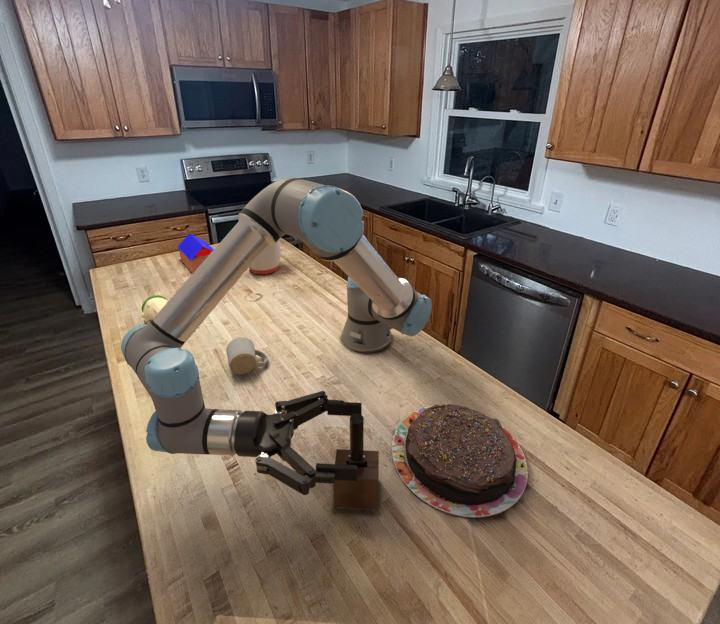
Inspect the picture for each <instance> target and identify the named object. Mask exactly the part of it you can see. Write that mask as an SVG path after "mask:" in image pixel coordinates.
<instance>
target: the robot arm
mask: <svg viewBox="0 0 720 624" xmlns="http://www.w3.org/2000/svg"><path fill="white" fill-rule="evenodd" d="M237 217H238V218H237V219H238V222H237V223H235V225H234V226H233V227H232V228H231V229H230V230H229V232H228V233H227V234H226V235H225V237H223V239H222V240H221V241H220V242H219V243H218V244H217V246H215V248H213V249H214V250H213V251H212V252H211V254H210V255H209V256H208V257H207V258H206V259H205V260H204V261H203V263H202V264H201V265H200V266H199V267H198V268H197V269H196V271H195V272H194V273H191V275H190V276H189V277H188V278H187V279H186V281H185V282H184V283H183V284H182V285H181V286H180V287H179V288H178V290H177V291H176V292H175V293H174V294H173V295H172V297H171V298H170V299H169V300H168V302H167V303H166V304H165V306H164V307H163V308H162V309H161V310H160V311H159V312H158V314H157V315H156V316H155V317H154V318H153V319H152V320H151V321H150V322H149V324H140V325H137V326H135V327H133V328H130V329H129V330H128V331H127V332H126V333H125V334H124V335H123V338H122V340H121V342H120V350H121V353H122V355H123V356H124V361H125V362H126V364H127V365H129V366H130V368H131V369H132V371H133V372H134V373H135V375H136V376H137V378H138V380H139V381H140V383H141V384H142V386H143V387H144V389H145V391H146V392H147V394H148V395H149V396H150V399H151V401H152V403H153V407H154V410H155V411H154V412H153V413H152V414H151V416H150V418H149V420H148V422H147V426H146V429H145V432H146V437H145V441H146V444H147V446H148V448H149V449H150V450H152V451H153V452H159V453H160V452H161V453H167V454H170V455H175V454H184V455H185V454H186V455H205V456H206V455H210V456H211V455H212V456H225V457H227V456H228V457H229V456H230V457H233V456H235V455H237V456H238V457H246V458H255V460H254V461H255V467H256V473H258V474H262V475H268V476H270V477H272V478H274V479H276V480H277V481H279V482H280V483H282V484H283V485H286V486H287V487H289V488H290V489H292V490H294V491H296V492H298V493H299V494H301V495H302V496H307V495H309V494H310V490H311V489H313V488H315V487H316V484H330V485H331V484H332V485H333V483H335V480H344V481H357V465H342V464H335V463H323V462H321V463H320V462H316V463H315V468H314V467H313V466H312V465H311V464H310V463H309V462H307V460H305V459H304V457H302V456H301V455H300V454H299V453H298V452H297V451H296V450H295V449H294V448H293V447H291V446H292V439H293V437H294V434H295V430H297V429H298V428H299V426H302V425H303V424H305V423H306V422H309V421H311V420H313V419H314V418H316V417H318V416H320V415H322V414H324V413H325V412H326V413H327V414H326V415H327V416H343V417H350V416H351V415H353V414H355V413H358V414H361V415H362V406H363V404H362V402H354V401H353V402H351V401H345V400H343V399H328V398H329V396H328V395H327V394H326V391H325V390H321V391H317V392H313V393H310V394H306V395H304V396H301V397H296V398H293V399H290V400H277V401H275V403H274V406H275V407H274V408H275V411H274V413H273V414H267V413H266V412H264V411H262V410H244V411H242V410H241V409H219V408H206V405H205V401H204V396H203V391H202V386H201V380H200V372H199V367H198V365H197V364H196V360H195V357H194V354H193V353H192V352H191V351H190V350H189V349H183V348H182V347H183V346H184V345H185V344H186V342H187V341H189V339H190V338H191V336H193V334H194V333H195V332H196V330H197V329H198V328H199V327H200V326H201V325H202V323H203V322H204V321H205V320H206V319H207V317H208V316H209V315H210V314H211V313H212V312H213V310H214V309H215V308H216V307H217V306H218V304H219V303H220V302H221V301H222V299H224V297H226V295H227V294H228V293H229V292H230V290H231V289H232V288H233V287H234V286H235V285H236V283H237V282H238V281H239V280H240V279H241V277H242V276H243V275H244V274H245V273H246V271H247V270H248V269H249V267H250V265H251V264H252V263H253V262H254V261H255V260H256V258H257V257H258V256H259V255H260V254H261V252H262V251H263V250H264V249H265V248H266V247H267V246H268V245H275V244H276V242H277V241H278V240H279V239H280V240H281V238H282V237H284V236H285V235H288V236H291V237H292V238H295V239H297V240H299V241H301V242H302V243H303V244H305V245H306V246H307V247H308V248H309V249H310V250H311V251H312V252H313V253H314V254H315V255H316V256H317V257H318V258H319V259H321V260H323V261H325V262H333V263H334V264H336V265H337V266H338V267H339V269H340V270H341V271H342V272H343V273H344V274H345V275H346V276H347V285H346V296H347V297H346V298H347V299H346V301H347V302H346V303H347V317H346V321H345V323H344V327H343V329H342V332H341V333H342V334H341V341H342V343H343V345H344V346H345V347H346V348H348V349H349V350H351V351H354V352H358V353H364V354H365V353H366V354H368V353H369V354H371V353H376V352H377V353H378V352H380V351H383V350H384V349H386V348H387V347H389V345H390V344H391V341H392V332H391V329H393V330H395V331H397V332H399V333H401V335H405V336H407V337H415V336H417V335H418V334H420V332H421V331H422V330H423V329H424V328H425V327H426V325H427V324H428V321H429V319H430V316H431V314H432V309H433V304H432V303H433V302H432V299H431V298H430V297H429V296H426V295H425V294H421V293H420V292H418V291H416V290H415V288H414V287H413V286H412V284H411V283H410V282H409V281H408V280H407V279H405V278H403V277H398V276H397V275H396V274H395V272H393V270H392V269H391V268H390V267H389V265H388V264H387V263H386V261H385V260H384V259H383V258H382V256H381V255H380V254H379V252H378V251H377V250H376V249H375V247H374V246H373V245H372V244H371V243H370V241H369V240H368V239H367V237H366V236H365V235H364V233H365V231H364V230H365V228H364V225H365V221H364V220H363V218H364V211H363V208H362V206H361V203H360V202H359V201H358V199H357V198H356V196H354V195H353V194H352V193H350V192H349V191H346V190H344V189H342V188H341V187H338V186H335V185H328V184H322V183H318V182H314V181H310V180H307V179H303V178H300V177H284V178H280V179H278V180H275V181H274V182H272V183H271V184H269V185H267V186H266V187H264V188H263V189H261V191H259V192H258V193H257V194H256V195H255V196H253V198H251V200H249V201H248V203H246V205H245V206H244V207H243V208H242V209H241V210H240V212H239V213H238V214H237ZM390 328H391V329H390ZM275 455H277V456H278V458H280V459H281V460H282V461H283V462H286V463H287V464H288V465H289V466H290V467H291V468H290V467H288V466H287V465H285V464H283V463H281V462H279V461H277V460H276V459H273V458H272V457H273V456H275Z"/></svg>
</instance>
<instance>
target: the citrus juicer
mask: <svg viewBox="0 0 720 624" xmlns="http://www.w3.org/2000/svg"><path fill="white" fill-rule="evenodd" d="M281 255H282V254H281V238H280V239H279V240H278V241H277V242H276V244H275V245H268V246H267V247H266V248H265V249H264V250H263V251H262V252H261V254H260V255H259V256H258V257H257V258H256V260H255V261H254V262H253V263H252V264H251V265H250V267H249V268H248V269H249V271H250V272H251V273H253V274H255V275H260V276H262V275H269V274H271V273H274V272H276V271H277V270H278V269H279V266H280V262H281V257H282V256H281Z"/></svg>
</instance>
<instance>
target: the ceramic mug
mask: <svg viewBox="0 0 720 624" xmlns="http://www.w3.org/2000/svg"><path fill="white" fill-rule="evenodd" d="M255 348H256V347H255V344H254V342H253V341H252V340H251V339H250V338H248V337H245V336H244V337H243V336H240V337H236V338H234V339H231V340H230V341H229V342H228V343H227V345H226V350H225V353H226V358H227V363H228V366H229V367H228V368H229V369H230V370H231V372H232V373H233V374H235V375H239V376H240V375H241V376H242V375H247V374H248V373H250V372H252V371H254V369H255V368H263V367H265V366H266V365H267V364H268V361H269V358H268V355H267V354H266V353H264V352H263V351H262V350H261V351H260V350H257V349H255ZM257 356H258V357H260V358H261V359H263V362H259V361H257Z"/></svg>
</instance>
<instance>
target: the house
mask: <svg viewBox="0 0 720 624" xmlns="http://www.w3.org/2000/svg"><path fill="white" fill-rule="evenodd" d="M177 249H178V251H179V252H178V253H179V257H180V261H181V262H182V263H183V264H184V265H185V267H186V268H187V269H188V270H189V271H190V273H191V274H193V273H194V272H195V271H196V269H197V268H198V267H199V266H200V265H201V264H202V263H203V261H204V260H205V259H206V258H207V257H208V256H209V255H210V254H211V252H212V251H213V250H214V249H215V248H213V247H212V246H210V245H209V243H207V242H206V241H205V240H203V239H201V238H199V237H197V236H195V235H193V234H191V233H188V234H187V235H186V237H185V238H183V240H182V241H181V242H180V243H179V244H178V245H177Z"/></svg>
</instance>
